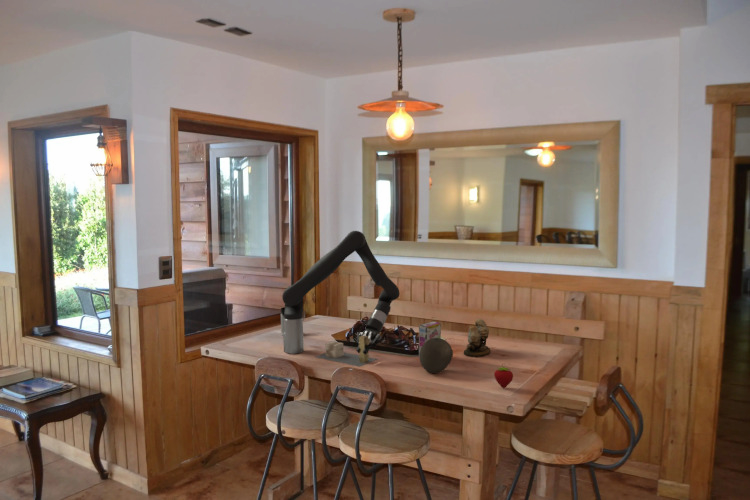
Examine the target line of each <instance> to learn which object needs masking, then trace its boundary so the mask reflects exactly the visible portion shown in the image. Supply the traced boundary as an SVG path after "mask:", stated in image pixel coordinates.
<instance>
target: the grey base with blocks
mask: <svg viewBox="0 0 750 500" xmlns="http://www.w3.org/2000/svg"><path fill="white" fill-rule="evenodd" d="M367 342H368V336H364V335H363V336H360V337H359V344H358V345H359V353H358V354H354V353H349V352H344V351H343V354H344V355H343V356H340V357H337V358H332V357H327V356H326V352H325V353H322V354H318V355H316V356H314V358H318V359H322V360H327V361H332V362H335V363H341V364H344V365H345V364H346V365H350V366H355V367H362V366H365V365H368V364H369V363H373V362H375V361H378V360H379V358H373V357H369V352H368V353H366V354H364V353H363V350H364V348H365V346H366V345H367Z"/></svg>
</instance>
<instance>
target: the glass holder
mask: <svg viewBox="0 0 750 500" xmlns="http://www.w3.org/2000/svg"><path fill="white" fill-rule="evenodd" d="M284 311H285V306H284V307H281V308H280V331H281V332H280V336H281V337H283V333H284V332H285V327H284ZM305 318H306V311H305V310H304V309H303V322H304V320H305Z"/></svg>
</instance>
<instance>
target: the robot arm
mask: <svg viewBox="0 0 750 500" xmlns="http://www.w3.org/2000/svg"><path fill="white" fill-rule="evenodd" d="M354 252H355V253H356V254H357V255H358V257H359V258H360V259H361V261H362V263H363V264H364V267H365V269H366V270H367V273H368V274H369V276H370V278H371V279H372V281H373V282H374V284H375V286H377V287H381V288H382V290H381V292H380V295H379V297H378V300H377V304H376V306H375V308H374V310H373V311H372V313H371V314H370V316H369V318H368V320H367V322H366V324H365V325H366V327H365V330H364V331H363V332H357V334H356V342H357V344H358V345H357V346H356V353H358V354H359V337H360V336H363V335H364V336H368V342H367V345H366V346H365V348H364V350H363V353H364V354H366V353H368V354H369V350H370V348H375V347H376V346H377V345H378V344H379V343H380V342H381V340H383V338H382V336H381V335H380V333H381V331H382V329H383V327H384V325H385V323H386V321H387V318H388V316H389V314H390V311H391V308H392V307H391V304H392V302H393V301H395V300H397V299H398V298H399V297H400V289H399V287H398V286H397V285H396V284H395V283H394V282H393V281H392V280H391V278H389V276H388V275H387V274H386V272H385V271H384V269H383V267H382V265H381V264H380V262H379V261H378V260H377V259H376V257H375V255H374V254H373V252H372V250H371V248H370V246H369V244H368V242H367V239H366V236H365V234H364V233H363V232H362V231H359V230H351V231H350V232H349V233H348V234H347V235H346V236H345V237H344V238H342V240H341V241H340V242H339V244H338V245H337V246H336V247H334V248H333V249H331V250H330V251H329V252H327V253H326V254H325V255H323V256H322V257H320V259H318V260H317V261H316V262H315V263H314V264H313V265H312V266H311V267H309V269H308V270H307V272H305V273H304V274H303V276H302V277H300V279H299V280H297V281H296V282H294V283H293V284H292V285H289V286H288V287H286V288H285V290H284V291H283V293H282V301H283V303H284V307H285V311H284V327H285V332H284V333H283V336H282V337H283V352H285V353H286V354H290V355H291V354H293V355H294V354H295V355H296V354H301V353H304V352H305V351H304V349H305V347H304V321H303V319H304V311H303V310H304V297H305V296H306V295H307V294H308V293H309V292H310V291H311V290H312V289H313V288H315V287H317V286H318V285H320V284H321V283H323V281H326V279H327V278H329V276H331V275H332V274H333V273H334V272H335V271H336V270H337V269H338V268H339V266H341V265H342V264H343V262H344V261H345V260H346V258H348V257H349V256H350V255H352V254H353V253H354Z"/></svg>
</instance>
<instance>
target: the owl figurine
mask: <svg viewBox="0 0 750 500" xmlns="http://www.w3.org/2000/svg"><path fill="white" fill-rule="evenodd" d="M474 323H475V326H474V325H472V326H469V329H468V332H467V342H468V343H467V344H466V348H465V350H464V351H463V354H464V356H466V357H468V358H469V357H470V358H482V357H485V356H489V355H490V353H491V348H490V347H489V346H488V345H487V339H488V338H489V335H490V332H489V331H490V330H489V329H490V328H489V327H488V326H487V323H486V321H485V320H484V319H482V318H477V319H476V320H475V321H474Z"/></svg>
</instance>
